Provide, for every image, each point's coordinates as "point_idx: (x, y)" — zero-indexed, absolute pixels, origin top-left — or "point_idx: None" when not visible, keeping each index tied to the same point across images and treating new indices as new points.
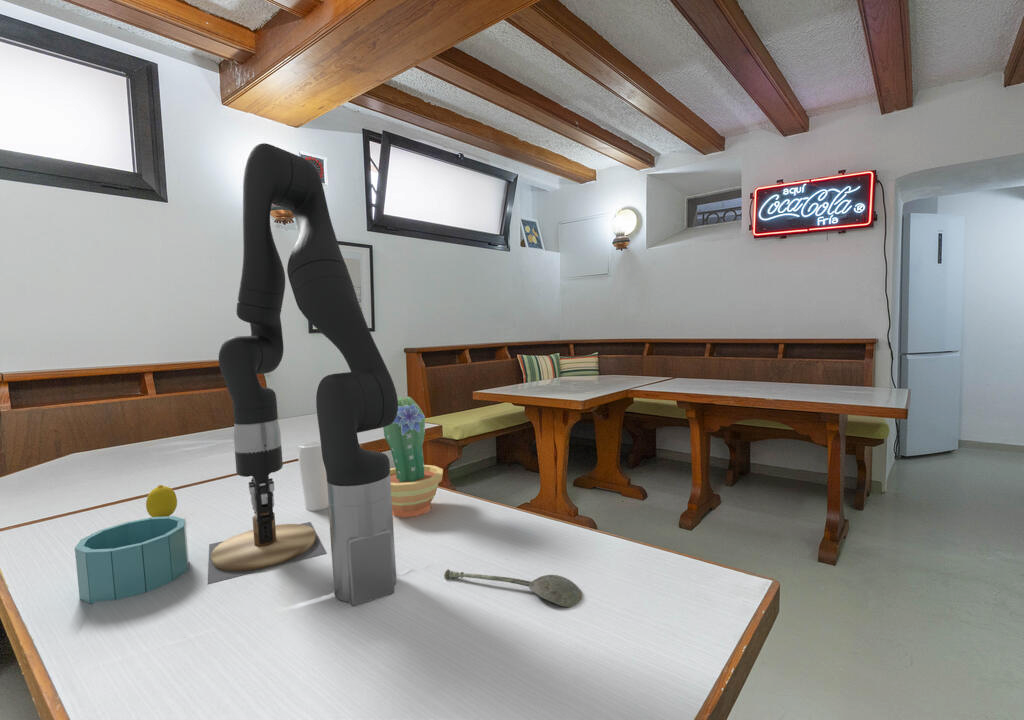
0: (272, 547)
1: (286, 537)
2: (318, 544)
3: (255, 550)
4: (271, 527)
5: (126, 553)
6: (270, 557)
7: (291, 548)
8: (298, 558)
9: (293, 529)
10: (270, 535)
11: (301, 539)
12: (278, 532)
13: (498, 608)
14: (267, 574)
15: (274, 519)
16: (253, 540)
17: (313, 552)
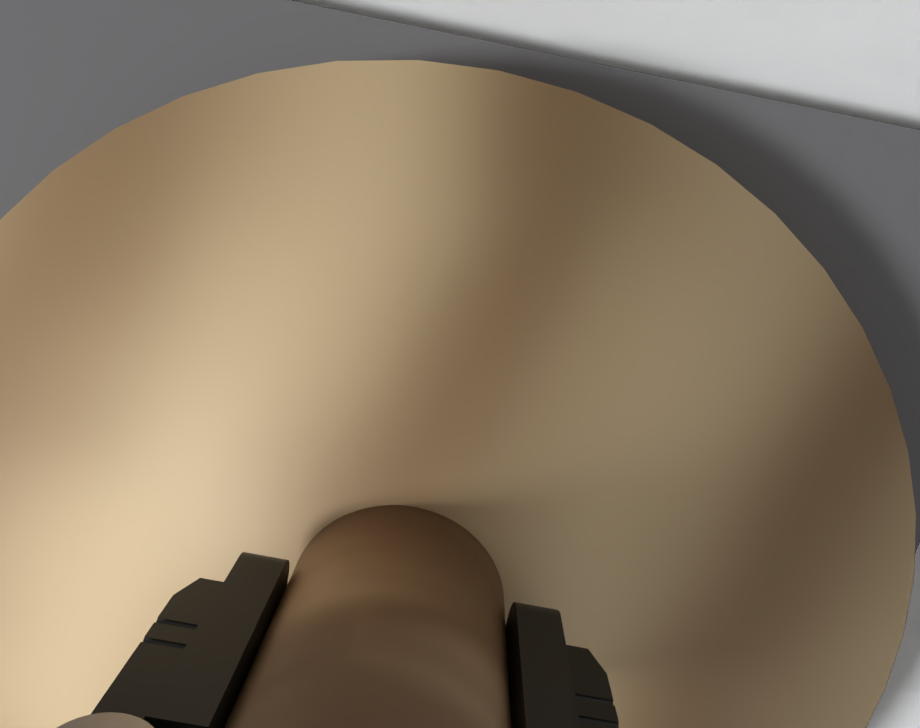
0: (602, 593)
1: (435, 408)
2: (756, 138)
3: None
4: (573, 725)
5: None
6: (837, 672)
7: (809, 470)
8: (917, 423)
9: (232, 265)
10: (608, 689)
11: (652, 306)
12: (203, 427)
13: None
14: (901, 666)
15: (440, 698)
16: None
17: (915, 262)
